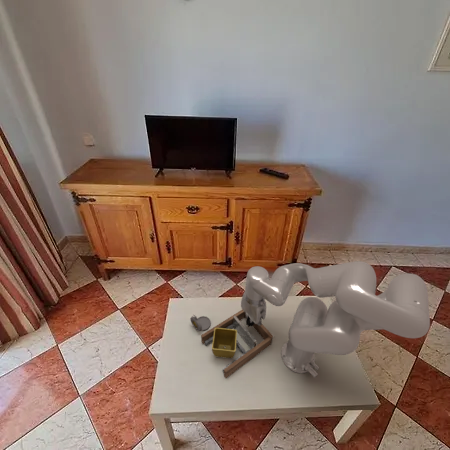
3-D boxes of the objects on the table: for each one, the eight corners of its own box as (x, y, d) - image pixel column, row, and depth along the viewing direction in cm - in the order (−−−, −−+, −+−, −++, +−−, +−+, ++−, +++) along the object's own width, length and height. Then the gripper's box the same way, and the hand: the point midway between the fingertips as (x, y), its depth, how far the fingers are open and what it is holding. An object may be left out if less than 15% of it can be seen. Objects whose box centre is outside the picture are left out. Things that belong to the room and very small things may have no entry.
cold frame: (271, 344, 105) (273, 336, 101) (225, 378, 94) (225, 370, 91) (245, 314, 116) (245, 305, 112) (201, 342, 105) (200, 333, 102)
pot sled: (255, 350, 102) (256, 340, 98) (224, 373, 95) (224, 364, 91) (234, 325, 111) (235, 315, 107) (204, 344, 104) (204, 334, 100)
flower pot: (236, 341, 106) (237, 329, 100) (234, 363, 99) (235, 351, 93) (215, 339, 106) (214, 327, 101) (212, 361, 99) (211, 349, 94)
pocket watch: (212, 319, 114) (211, 304, 108) (207, 336, 107) (206, 322, 101) (194, 315, 115) (193, 301, 109) (188, 332, 109) (186, 318, 103)
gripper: (276, 305, 91) (269, 333, 102) (249, 278, 101) (245, 306, 112) (260, 315, 88) (255, 343, 99) (234, 286, 97) (231, 315, 108)
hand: (250, 323), depth 105 cm, fingers closed
